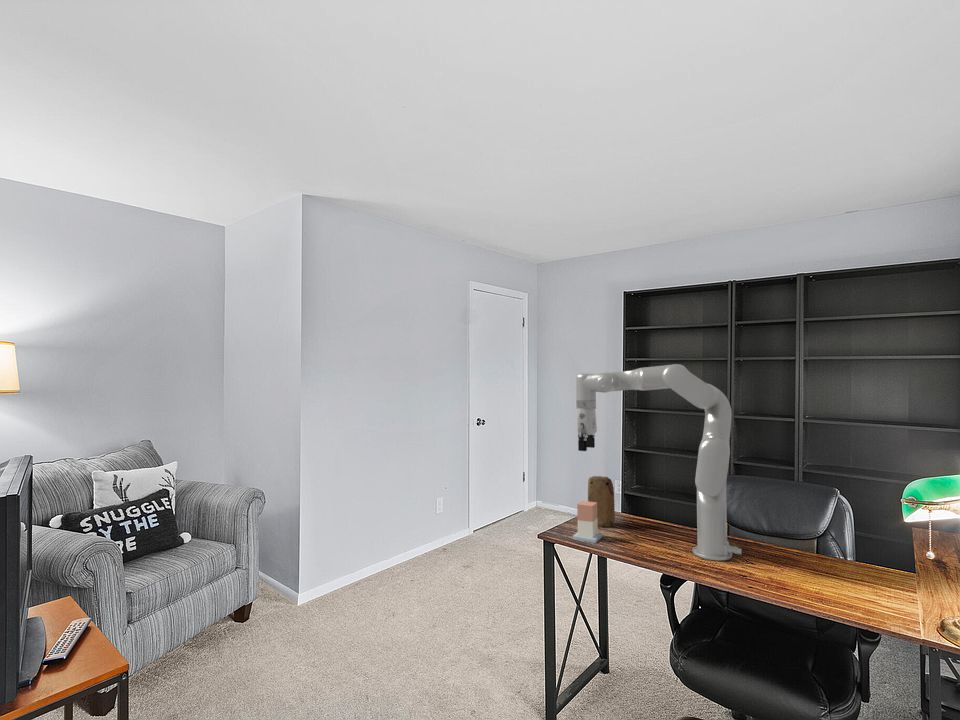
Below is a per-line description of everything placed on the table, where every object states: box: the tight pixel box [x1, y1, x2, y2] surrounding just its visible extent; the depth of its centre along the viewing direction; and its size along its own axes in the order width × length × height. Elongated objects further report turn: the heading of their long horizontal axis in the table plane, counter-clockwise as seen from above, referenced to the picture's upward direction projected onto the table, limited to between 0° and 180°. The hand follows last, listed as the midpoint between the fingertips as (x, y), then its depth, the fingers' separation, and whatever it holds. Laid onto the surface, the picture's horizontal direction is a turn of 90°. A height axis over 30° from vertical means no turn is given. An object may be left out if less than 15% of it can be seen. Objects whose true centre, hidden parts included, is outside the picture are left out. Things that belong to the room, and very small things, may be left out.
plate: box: [572, 531, 603, 544], centre depth 200 cm, size 9×9×1 cm
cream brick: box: [577, 518, 599, 538], centre depth 200 cm, size 6×6×6 cm
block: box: [587, 475, 616, 528], centre depth 217 cm, size 11×8×20 cm
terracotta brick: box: [576, 500, 597, 522], centre depth 200 cm, size 6×6×6 cm
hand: (586, 449), depth 201 cm, fingers open, 9 cm apart
